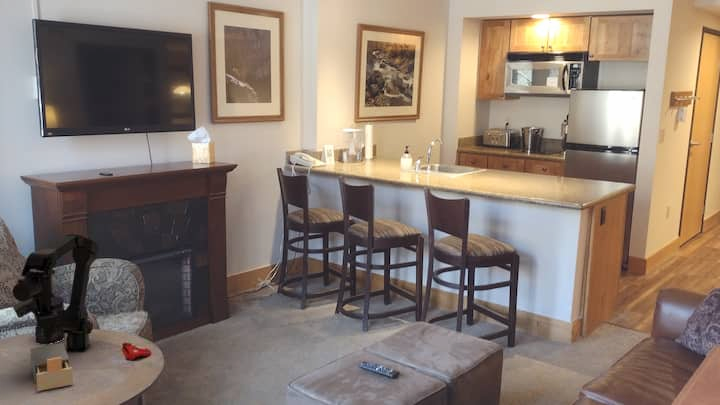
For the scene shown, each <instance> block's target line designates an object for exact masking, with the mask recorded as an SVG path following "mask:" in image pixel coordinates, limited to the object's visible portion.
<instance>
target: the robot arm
mask: <svg viewBox="0 0 720 405" xmlns="http://www.w3.org/2000/svg"><path fill="white" fill-rule="evenodd" d="M99 251H100V246H99V244H98V242H96V241H94V240H92V239H90V238H87V237H85V236H83V235H81V234H80V233H68V234H67V233H66V234H65V236H64V237H63V238H61V239H60V240H58V241H57V242H55V243H54V244H52V245H51V246H48V247H47V248H45V249H39V250H35V251H33V252H30V253H29V255H28V257H27V258H26V260H25V263H24V266H23V269H22V272H21V274H20V276H21V277H23V278H20V279H18V280H17V284H15V285H14V286H13V288H12V295H13V297H14V298H15V300H17V301H19V302H17V303H15V304H14V305H13V306H12V308H13V311H14V312H15V314H16V316H17V318H19V319H21V318H23V317H24V316H26V315H28V314H30V313H32V314H33V315H36V317H35V316H34V320H35V326H36V325H37V326H38V327H40V328H41V330H42V331H43V334H44V337H45V341H49V340H50V338H51V336H52V334H53V331H54V329H55V327H56V325H57V324H58V323H59V317H58V315H57V313H56V312H54V311H52V310H54V309H55V307H54V304H53V297H55V294H54V291H53V290H54V289H53V288H54V287H53V275H54V274H56V270H54V268H55V267H56V266H57V265H58V261H59V260H60V259H61V258H62V257H64V256H65V255H67V254H68V253H69V252H71V258H72V260H73V262H74V264H75V266H74V272H73V279H72V284H71V291H70V297H69V304H68V306H67V307H66V309H64V310H63V311H62V317H61V320H60V321H61V327H62V330H63V333H65V334H67V335H66V336H65V340H66V344H65V345H66V348H65V349H66V352H75V351H79V352H80V351H82V353H83V352H84V353H85V351H87V350H88V349H89V348H90V346H91V345H92V344H91V343H90V340H89V339H90V338H89V336H90V335H89V334H91V333H92V331H93V329H94V324H93V323H92V322H91V321H90V320H89V312H88V310H87V308H86V306H85V305H86V297H87V292H88V291H87V290H88V284H89V277H90V271H91V266H92V264H94V262H95V261H96V260H97V259H98V258H97V256H98V253H99ZM51 311H52V312H51ZM79 352H78V353H79ZM80 353H81V352H80Z"/></svg>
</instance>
